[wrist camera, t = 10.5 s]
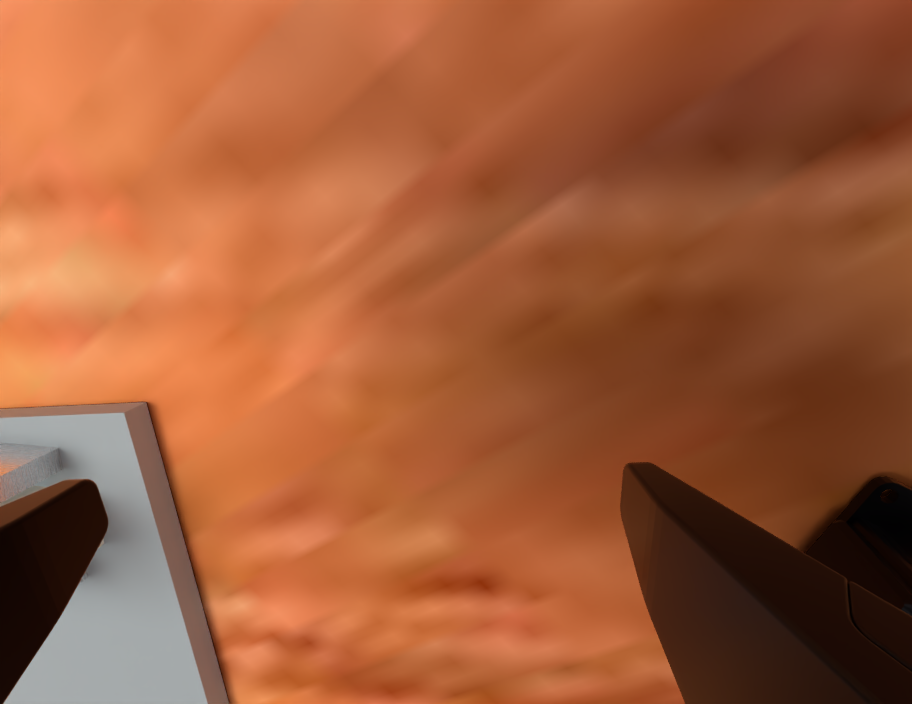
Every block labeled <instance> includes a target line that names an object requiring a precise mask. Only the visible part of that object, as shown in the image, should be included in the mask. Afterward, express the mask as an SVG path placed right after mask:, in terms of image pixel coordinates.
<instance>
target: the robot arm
mask: <svg viewBox="0 0 912 704" xmlns="http://www.w3.org/2000/svg"><path fill="white" fill-rule="evenodd" d="M889 489H891V492H890V494H888V495H887V496H885V497H880V496H881V494H882V492H884V491H885V490H889ZM620 509H621V517H622V521H623V525H624V528H625V532H626V536H627V539H628V543H629V547H630V550H631V554H632V558H633V561H634V565H635V569H636V572H637V576H638V580H639V583H640V587H641V590H642V594H643V597H644V600H645V603H646V606H647V609H648V612H649V614H650V617H651V620H652V622H653V625H654V627H655V629H656V632H657V634H658V637H659V639H660V642H661V644H662V647H663V649H664V652H665V654H666V657H667V659H668V662H669V664H670V667H671V669H672V672H673V674H674V677H675V679H676V682H677V684H678V687H679V689H680V692H681V694H682V697H683V699H684V702H685V704H912V488H911V487H909V486H907V485H905V484H903V483H901V482H899V481H897V480H895V479H893V478H890V477H878V478H875V479H873V480H872V481H870V482H869V483H868V484H867V485H866V486H865V487H864V489H863V490H862V491H861V492H860V493H859V494H858V495H857V497H856V498H855V499H854V500H853V501H852V502H851V503H850V505H849V506H848V507H847V508H846V509H845V510H844V511H843V512H842V514H841V515H840V516H839V517H838V518H837V519H836V520H835V522H834V523H832V524H831V525H830V526H829V527H828V529H827V530H826V531H825V532H824V533H823V534H822V535H821V537H820V538H819V539H818V540H817V541H816V542H815V543H814V545H813V546H812V547H811V548H810V549H809V550H808V551H807V553H806V554H805V553H803V552H801V551H800V550H798V549H796V548H795V547H793V546H791V545H790V544H788V543H786V542H784V541H783V540H781V539H779V538H778V537H776V536H774V535H773V534H771V533H769V532H768V531H766V530H764V529H762V528H761V527H759V526H757V525H756V524H754V523H752V522H751V521H749V520H747V519H746V518H744V517H742V516H740V515H739V514H737V513H735V512H734V511H732V510H730V509H729V508H727V507H725V506H724V505H722V504H720V503H718V502H717V501H715V500H713V499H712V498H710V497H708V496H707V495H705V494H703V493H702V492H700V491H698V490H696V489H695V488H693V487H691V486H690V485H688V484H686V483H685V482H683V481H681V480H680V479H678V478H676V477H674V476H673V475H671V474H669V473H668V472H666V471H664V470H663V469H661V468H659V467H658V466H656V465H654V464H652V463H649V462H640V463H628V464H626V465H625V467H624V470H623V480H622V491H621V503H620ZM107 529H108V516H107V513H106V510H105V507H104V504H103V501H102V498H101V495H100V492H99V489H98V487H97V484H96V483H95V482H94V481H92V480H90V479H68V480H64V481H61V482H58V483H56V484H54V485H51V486H49V487H46V488H44V489H42V490H39V491H37V492H34V493H32V494H30V495H27V496H25V497H22V498H20V499H17V500H15V501H13V502H10V503H8V504H5V505H3V506H1V507H0V704H4V702H5V701H6V699H7V698H8V696H9V695H10V693H11V692H12V690H13V689H14V687H15V685H16V684H17V682H18V681H19V679H20V678H21V676H22V675H23V673H24V672H25V670H26V669H27V667H28V666H29V664H30V663H31V661H32V660H33V658H34V657H35V655H36V654H37V652H38V651H39V649H40V648H41V646H42V645H43V643H44V642H45V640H46V639H47V637H48V636H49V634H50V633H51V631H52V629H53V628H54V626H55V625H56V623H57V622H58V620H59V618H60V617H61V615H62V613H63V612H64V610H65V608H66V606H67V605H68V603H69V601H70V599H71V597H72V595H73V594H74V592H75V590H76V588H77V586H78V584H79V583H80V581H81V579H82V577H83V575H84V573H85V571H86V570H87V568H88V566H89V564H90V562H91V560H92V559H93V557H94V555H95V553H96V551H97V549H98V547H99V546H100V544H101V542H102V540H103V538H104V536H105V534H106V532H107Z"/></svg>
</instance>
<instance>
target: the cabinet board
mask: <svg viewBox="0 0 912 704" xmlns="http://www.w3.org/2000/svg"><path fill="white" fill-rule="evenodd" d="M0 443H11V444H23V445H34V446H46V447H58V448H59V450H60V455H61V459H62V463H63V468H64V469H63V470H61V471H59V472H57V473H56V474H54V475H52V476H50V477H48V478H46V479H44V480H43V481H41V482H39V483H37V484H35V485H33V486H44V487H49V486H51V485H54V484H56V483H58V482H61V481H64V480H68V479H90V480H92V481H94V482H95V483H96V484H97V487H98V489H99V492H100V495H101V498H102V501H103V504H104V507H105V510H106V513H107V516H108V529H107V532H106V534H105V536H104V538H103V539H104V543H105V544H103V545H102V546H101V547H99V548H98V549H97V551H96V553H95V555H94V557H93V559H92V560H91V562H90V564H89V566H88V568H87V571H88V575H89V577H88V578H87V579H85V580H84V581H83V582H82V583H80V584H79V585H78V586H77V588H76V590H75V592H74V594H73V595H72V597H71V599H70V601H69V603H68V605H67V606H66V608H65V610H64V612H63V613H62V615H61V617H60V618H59V620H58V622H57V623H56V625H55V626H54V628H53V629H52V631H51V633H50V634H49V636H48V637H47V639H46V640H45V642H44V643H43V645H42V646H41V648H40V649H39V651H38V652H37V654H36V655H35V657H34V658H33V660H32V661H31V663H30V664H29V666H28V667H27V669H26V670H25V672H24V673H23V675H22V676H21V678H20V679H19V681H18V682H17V684H16V685H15V687H14V689H13V690H12V692H11V693H10V695H9V696H8V698H7V699H6V701H5V702H4V704H229V701H228V698H227V694H226V690H225V687H224V683H223V679H222V676H221V672H220V668H219V665H218V661H217V658H216V654H215V650H214V647H213V643H212V639H211V636H210V632H209V629H208V625H207V621H206V618H205V614H204V610H203V607H202V603H201V599H200V596H199V592H198V589H197V585H196V581H195V578H194V574H193V570H192V567H191V563H190V560H189V556H188V552H187V549H186V545H185V541H184V538H183V534H182V530H181V527H180V523H179V520H178V516H177V512H176V509H175V505H174V501H173V498H172V494H171V491H170V487H169V483H168V480H167V476H166V472H165V469H164V465H163V461H162V458H161V454H160V451H159V447H158V443H157V440H156V436H155V432H154V429H153V425H152V422H151V418H150V414H149V411H148V407H147V403H146V402H135V403H114V404H92V405H71V406H50V407H29V408H8V409H0Z"/></svg>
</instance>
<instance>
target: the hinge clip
mask: <svg viewBox="0 0 912 704" xmlns="http://www.w3.org/2000/svg"><path fill="white" fill-rule="evenodd" d="M63 469H64V468H63V463H62V459H61V455H60V450H59V448H58V447H46V446H34V445H23V444H11V443H0V503H2V502H4V501H5V500H7V499H9V498H11V497H13V496H15V495H17V494H18V493H20V492H22V491H24V490H26V489H28V488H30V487H31V486H33V485H35V484H37V483H39V482H41V481H43V480H44V479H46V478H48V477H50V476H52V475H54V474H56V473H57V472H59V471H61V470H63ZM88 577H89V575H88V571H87V570H86V571H85V573H84V575H83V577H82V579H81V581H80V583H82V582H83V581H84V580H85V579H87V578H88ZM80 583H79V584H80ZM79 584H78V585H79Z"/></svg>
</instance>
